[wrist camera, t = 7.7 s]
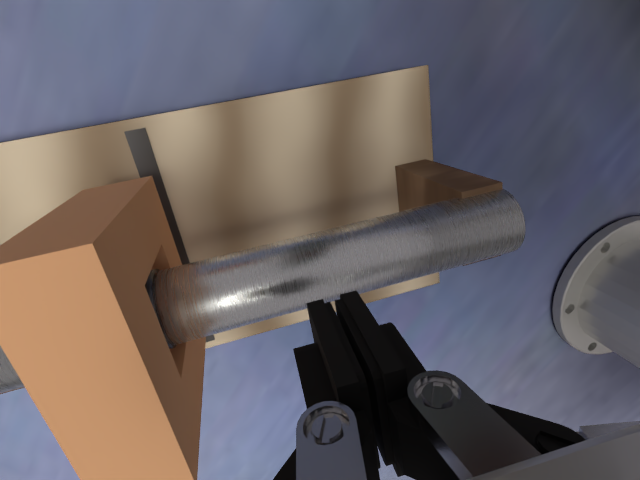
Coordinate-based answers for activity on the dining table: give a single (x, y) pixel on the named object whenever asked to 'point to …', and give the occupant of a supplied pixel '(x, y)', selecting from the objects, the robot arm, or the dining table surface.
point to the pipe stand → (254, 169)
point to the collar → (103, 335)
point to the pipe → (324, 267)
